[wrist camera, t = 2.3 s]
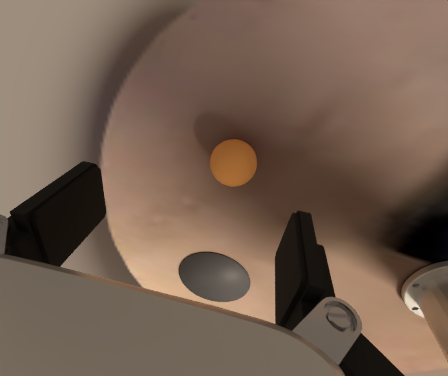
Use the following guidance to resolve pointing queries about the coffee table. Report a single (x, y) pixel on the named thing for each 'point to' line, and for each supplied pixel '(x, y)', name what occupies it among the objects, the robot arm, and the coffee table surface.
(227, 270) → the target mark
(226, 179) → the ball
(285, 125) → the coffee table surface
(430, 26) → the coffee table surface
